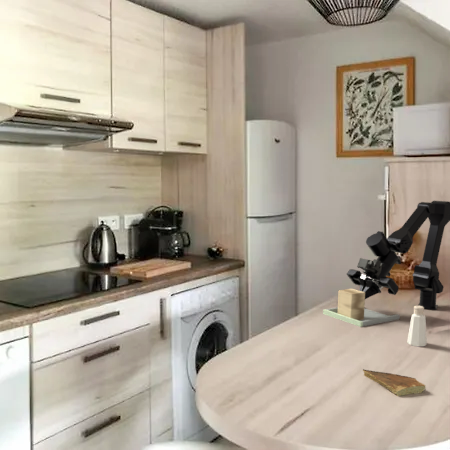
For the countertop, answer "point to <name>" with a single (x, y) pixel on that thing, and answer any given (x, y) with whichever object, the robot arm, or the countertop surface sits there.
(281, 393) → the countertop surface
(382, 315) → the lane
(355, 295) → the block
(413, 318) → the salt shaker
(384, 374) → the shard
